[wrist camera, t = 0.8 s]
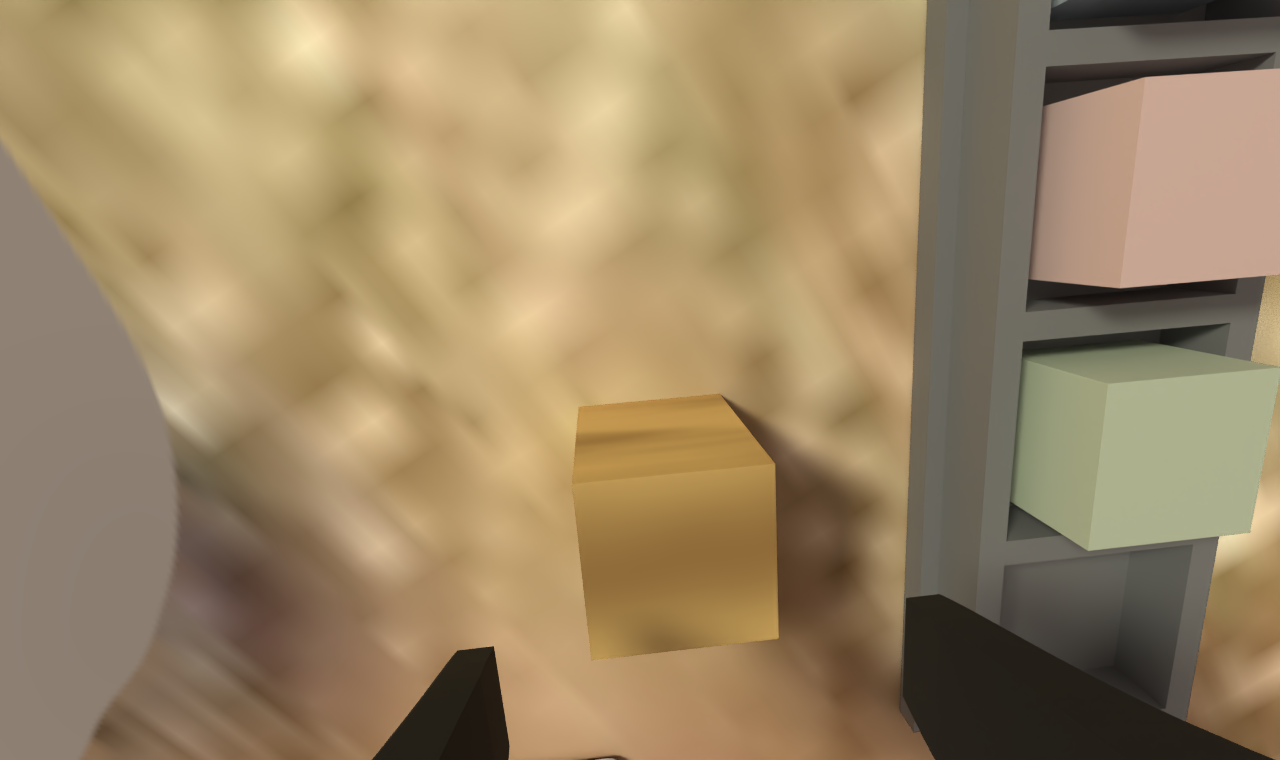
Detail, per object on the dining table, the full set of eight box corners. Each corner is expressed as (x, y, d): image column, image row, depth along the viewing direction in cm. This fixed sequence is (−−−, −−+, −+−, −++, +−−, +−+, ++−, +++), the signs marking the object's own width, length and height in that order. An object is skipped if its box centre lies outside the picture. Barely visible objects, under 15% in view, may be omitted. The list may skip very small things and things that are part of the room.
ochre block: (724, 521, 20) (778, 638, 14) (592, 535, 20) (591, 660, 14) (719, 393, 19) (775, 463, 13) (578, 406, 19) (571, 484, 13)
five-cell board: (1120, 683, 23) (1262, 803, 18) (899, 710, 22) (984, 842, 18) (1310, -631, 14) (1689, -1088, 9) (951, -634, 14) (1152, -1119, 9)
